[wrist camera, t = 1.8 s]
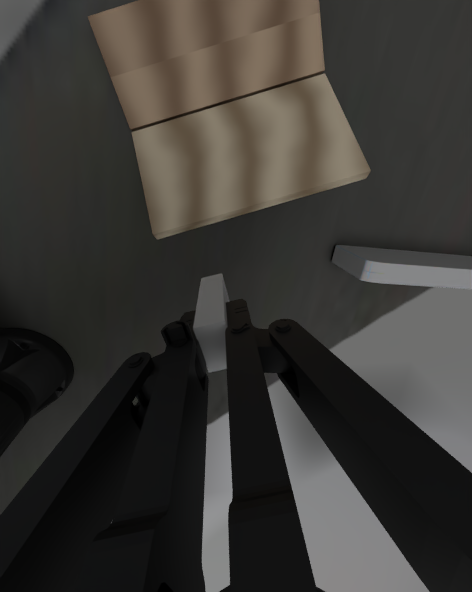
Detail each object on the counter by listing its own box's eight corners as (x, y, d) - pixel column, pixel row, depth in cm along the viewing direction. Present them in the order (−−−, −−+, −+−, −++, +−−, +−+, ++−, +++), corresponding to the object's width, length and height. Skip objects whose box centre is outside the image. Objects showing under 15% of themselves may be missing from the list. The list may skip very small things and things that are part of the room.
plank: (157, 239, 27) (152, 234, 26) (136, 140, 31) (131, 132, 29) (365, 178, 27) (370, 170, 26) (322, 84, 30) (324, 73, 29)
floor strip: (133, 131, 30) (130, 129, 29) (92, 23, 26) (87, 16, 25) (320, 74, 30) (324, 70, 29) (309, -46, 26) (314, -56, 24)
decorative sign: (327, 266, 40) (361, 289, 31) (333, 243, 39) (370, 261, 30) (493, 279, 45) (565, 303, 36) (504, 259, 43) (583, 278, 34)
